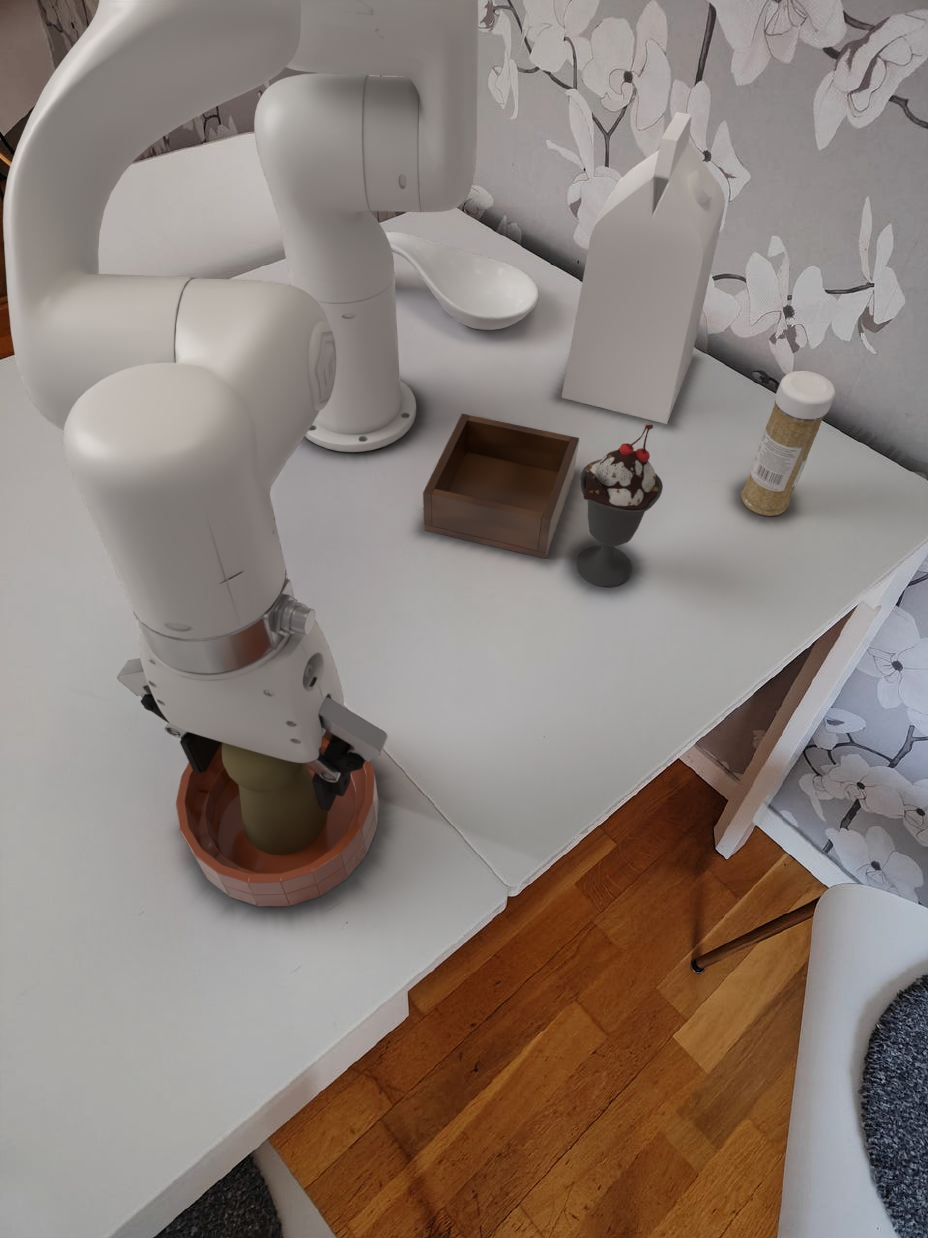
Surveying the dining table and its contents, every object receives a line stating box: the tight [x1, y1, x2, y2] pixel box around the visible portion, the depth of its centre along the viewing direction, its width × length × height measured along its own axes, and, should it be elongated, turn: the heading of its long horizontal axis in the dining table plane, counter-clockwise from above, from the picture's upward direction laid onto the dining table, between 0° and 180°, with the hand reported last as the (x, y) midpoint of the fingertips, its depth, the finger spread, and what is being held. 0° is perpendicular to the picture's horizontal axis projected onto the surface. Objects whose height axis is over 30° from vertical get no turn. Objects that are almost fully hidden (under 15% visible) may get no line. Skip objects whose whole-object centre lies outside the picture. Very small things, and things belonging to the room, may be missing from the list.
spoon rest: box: [384, 231, 540, 331], centre depth 101 cm, size 24×12×7 cm, turn 69°
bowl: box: [175, 736, 379, 907], centre depth 61 cm, size 13×13×4 cm
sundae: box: [575, 424, 664, 587], centre depth 72 cm, size 7×7×15 cm
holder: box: [422, 413, 580, 559], centre depth 81 cm, size 12×12×5 cm
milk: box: [561, 111, 726, 425], centre depth 85 cm, size 12×12×26 cm
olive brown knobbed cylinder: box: [222, 743, 328, 855], centre depth 58 cm, size 6×6×11 cm
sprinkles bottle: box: [741, 370, 836, 517], centre depth 78 cm, size 5×5×13 cm
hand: (270, 771), depth 57 cm, fingers open, 8 cm apart
